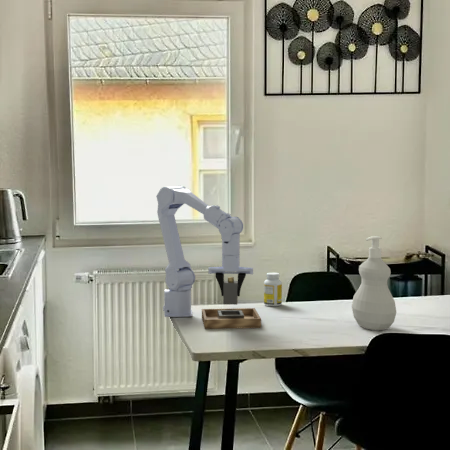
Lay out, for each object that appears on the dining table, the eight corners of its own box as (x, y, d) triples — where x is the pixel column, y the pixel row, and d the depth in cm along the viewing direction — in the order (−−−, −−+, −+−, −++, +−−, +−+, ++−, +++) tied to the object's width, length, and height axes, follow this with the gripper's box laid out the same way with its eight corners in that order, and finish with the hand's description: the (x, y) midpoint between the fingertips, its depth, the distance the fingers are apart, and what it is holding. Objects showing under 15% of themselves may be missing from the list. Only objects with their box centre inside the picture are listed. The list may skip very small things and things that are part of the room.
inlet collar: (219, 323, 255) (219, 315, 254) (217, 317, 263) (217, 310, 262) (244, 322, 255) (244, 315, 255) (241, 317, 263) (241, 310, 263)
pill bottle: (281, 303, 290) (282, 272, 289) (281, 306, 284) (281, 275, 283) (264, 302, 291) (264, 271, 290) (263, 306, 284) (263, 274, 283)
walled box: (204, 328, 250) (204, 319, 250) (201, 317, 266) (201, 308, 266) (260, 328, 252) (261, 318, 252) (254, 316, 268) (254, 308, 267)
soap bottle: (342, 324, 257) (344, 234, 254) (369, 320, 263) (371, 232, 260) (376, 335, 243) (379, 240, 240) (405, 331, 249) (407, 238, 246)
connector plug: (223, 304, 256) (223, 278, 256) (224, 301, 261) (224, 276, 260) (237, 304, 256) (237, 278, 255) (237, 301, 261) (238, 276, 260)
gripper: (253, 253, 260) (253, 293, 262) (209, 252, 261) (209, 292, 263) (252, 256, 253) (252, 297, 255) (207, 255, 254) (207, 297, 256)
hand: (230, 295), depth 258 cm, fingers closed on connector plug, 4 cm apart
